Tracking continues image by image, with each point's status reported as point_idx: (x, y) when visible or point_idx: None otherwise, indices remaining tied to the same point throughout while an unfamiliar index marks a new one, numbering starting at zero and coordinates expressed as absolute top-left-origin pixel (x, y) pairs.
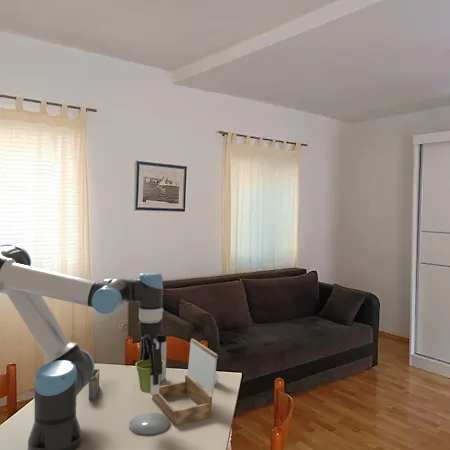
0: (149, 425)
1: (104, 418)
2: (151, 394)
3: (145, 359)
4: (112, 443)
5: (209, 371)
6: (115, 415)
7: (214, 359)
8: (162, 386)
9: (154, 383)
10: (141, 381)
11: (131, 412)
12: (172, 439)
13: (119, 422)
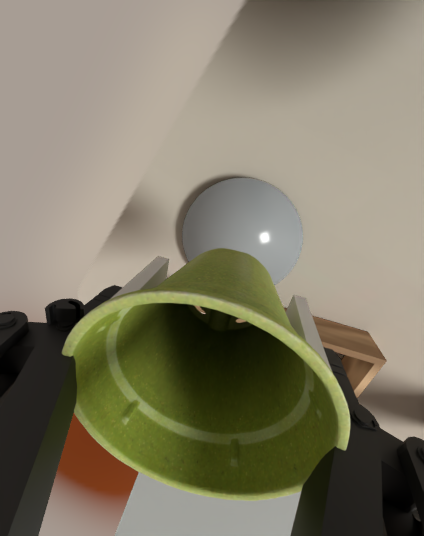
0: (220, 229)
1: (400, 140)
2: (156, 258)
3: (321, 464)
4: (214, 78)
5: (167, 485)
6: (382, 188)
7: None
8: (362, 383)
9: (103, 290)
10: (206, 263)
11: (351, 242)
12: (139, 239)
13: (323, 173)
